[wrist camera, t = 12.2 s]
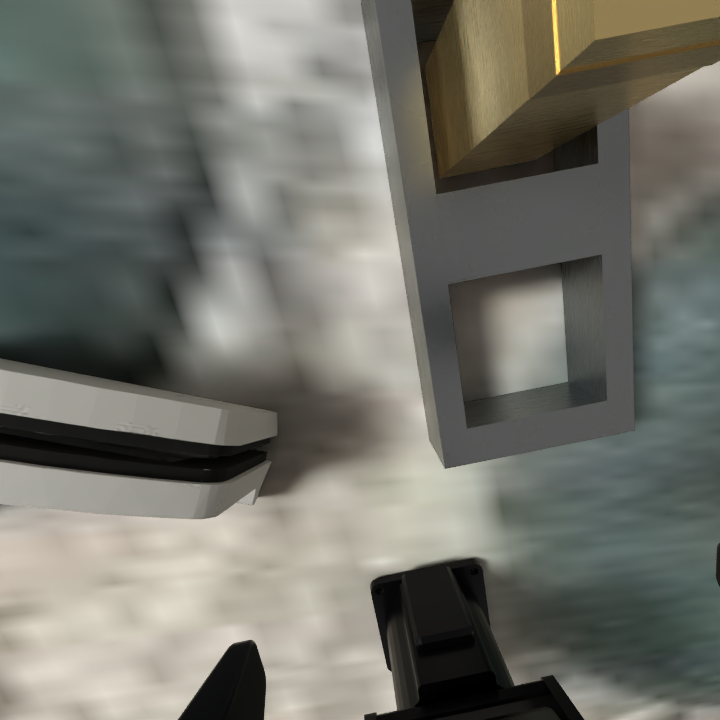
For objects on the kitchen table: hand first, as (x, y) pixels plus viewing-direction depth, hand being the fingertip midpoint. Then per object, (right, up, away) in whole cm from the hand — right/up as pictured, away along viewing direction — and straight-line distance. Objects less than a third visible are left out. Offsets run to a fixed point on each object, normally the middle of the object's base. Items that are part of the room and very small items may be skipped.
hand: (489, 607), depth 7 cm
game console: (-15, +3, +12) cm, 19 cm away
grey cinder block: (+4, +11, +11) cm, 16 cm away
